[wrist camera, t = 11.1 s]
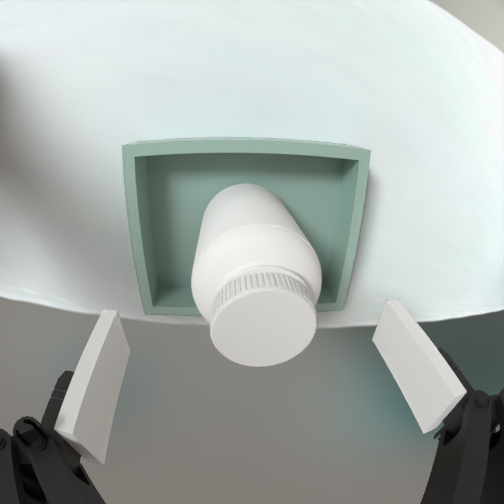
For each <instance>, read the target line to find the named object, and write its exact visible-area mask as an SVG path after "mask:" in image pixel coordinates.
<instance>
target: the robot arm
mask: <svg viewBox="0 0 504 504" xmlns="http://www.w3.org/2000/svg"><path fill="white" fill-rule="evenodd" d="M372 340H373V342H374V343H375V345H376V347H377V349H378V350H379V352H380V354H381V356H382V357H383V359H384V361H385V362H386V364H387V366H388V368H389V370H390V371H391V373H392V375H393V377H394V379H395V380H396V382H397V384H398V386H399V388H400V389H401V391H402V393H403V395H404V397H405V399H406V401H407V402H408V404H409V406H410V408H411V410H412V412H413V414H414V416H415V418H416V420H417V422H418V424H419V426H420V428H421V429H422V432H423V433H426V432H428V431H431V430H433V429H435V428H436V427H437V426H438V425H439V424H440V423H441V422H442V421H443V423H444V426H443V427H442V428H441V429H440V430H439V431H438V432H437V433H436V434H435V436H434V439H435V438H437V437H438V436H439V434H441V435H440V437H439V438H438V440H439V444H438V448H437V452H436V456H435V460H434V464H433V467H432V471H431V474H430V477H429V481H428V484H427V487H426V490H425V493H424V495H423V498H422V501H421V504H504V388H503V389H502V390H501V392H500V393H499V394H498V395H491V396H488V395H487V394H486V393H485V392H483V391H480V390H476V391H475V390H474V389H473V388H472V387H471V385H470V384H469V382H468V381H467V379H466V378H465V377H464V375H463V374H462V372H461V371H460V369H458V367H457V365H456V364H455V363H454V362H453V360H452V358H451V357H450V356H449V354H448V353H446V352H445V351H444V350H443V349H441V348H438V349H437V348H436V347H435V346H434V344H433V343H432V342H431V340H430V339H429V338H428V336H427V335H426V334H425V332H424V331H423V330H422V329H421V327H420V326H419V325H418V323H417V322H416V321H415V320H414V318H413V317H412V316H411V315H410V313H409V312H408V311H407V310H406V308H405V307H404V306H403V305H402V303H401V302H400V301H399V300H398V299H392V300H386V302H385V305H384V308H383V311H382V314H381V317H380V320H379V322H378V325H377V328H376V331H375V334H374V336H373V339H372ZM130 352H131V351H130V348H129V345H128V343H127V339H126V336H125V333H124V330H123V327H122V324H121V320H120V317H119V314H118V310H103V311H102V313H101V315H100V317H99V319H98V322H97V323H96V325H95V328H94V330H93V332H92V334H91V336H90V338H89V340H88V343H87V345H86V347H85V349H84V352H83V354H82V356H81V358H80V361H79V363H78V365H77V368H76V370H75V372H71V371H65V372H64V373H63V374H62V375H61V376H60V377H59V379H58V381H57V383H56V385H55V388H54V391H53V392H52V395H51V398H50V400H49V402H48V405H47V408H46V410H45V413H44V416H43V418H42V421H41V424H40V423H39V422H38V421H37V420H36V419H34V418H33V417H29V416H26V417H22V418H21V419H19V420H18V421H17V422H16V423H15V425H14V428H13V436H10V435H9V434H8V433H7V432H6V431H4V430H3V429H0V504H106V503H105V502H104V500H103V499H102V497H101V496H100V494H99V493H98V491H97V489H96V488H95V486H94V485H93V483H92V481H91V480H90V478H89V477H88V475H87V473H86V471H85V469H84V468H83V466H82V464H81V463H80V458H81V456H82V457H83V458H84V459H85V460H86V461H88V462H92V463H96V464H101V465H104V461H105V455H106V450H107V445H108V440H109V435H110V430H111V425H112V421H113V417H114V412H115V408H116V404H117V400H118V396H119V392H120V388H121V384H122V380H123V377H124V373H125V369H126V366H127V362H128V359H129V355H130ZM499 424H500V430H499V431H498V432H496V429H495V428H496V427H497V426H498V425H499Z"/></svg>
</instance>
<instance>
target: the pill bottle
mask: <svg viewBox="0 0 504 504" xmlns="http://www.w3.org/2000/svg"><path fill="white" fill-rule="evenodd" d="M321 285H322V272H321V266H320V262H319V259H318V257H317V255H316V253H315V251H314V249H313V247H312V246H311V244H310V243H309V241H308V240H307V238H306V237H305V235H304V234H303V232H302V231H301V229H300V228H299V226H298V225H297V223H296V222H295V220H294V219H293V217H292V216H291V214H290V213H289V211H288V210H287V208H286V207H285V205H284V204H283V202H282V201H281V200H280V199H279V198H278V196H276V195H275V194H274V193H273V192H271V191H270V190H268V189H267V188H265V187H262V186H260V185H256V184H249V183H243V184H236V185H233V186H230V187H227V188H225V189H224V190H222V191H221V192H219V193H218V194H217V195H216V196H215V197H214V198H213V199H212V200H211V201H210V203H209V204H208V206H207V208H206V210H205V212H204V215H203V219H202V224H201V229H200V234H199V239H198V244H197V249H196V254H195V259H194V264H193V270H192V276H191V289H192V295H193V298H194V301H195V303H196V306H197V308H198V310H199V312H200V313H201V315H202V316H203V317H204V319H205V320H206V321H207V322H208V323H209V324H210V328H209V329H210V337H211V339H212V342H213V344H214V346H215V347H216V349H218V351H219V352H220V353H221V354H222V355H224V356H225V357H226V358H228V359H230V360H231V361H233V362H236V363H238V364H242V365H246V366H254V367H264V366H272V365H276V364H280V363H283V362H285V361H288V360H290V359H292V358H293V357H295V356H297V355H298V354H299V353H301V352H302V351H303V350H304V349H305V348H306V347H307V346H308V344H309V343H310V342H311V340H312V339H313V337H314V334H315V332H316V328H317V323H318V321H317V320H318V318H317V313H316V310H315V305H316V303H317V301H318V298H319V295H320V291H321Z"/></svg>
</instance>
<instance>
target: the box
mask: <svg viewBox="0 0 504 504" xmlns="http://www.w3.org/2000/svg"><path fill="white" fill-rule="evenodd" d="M122 153H123V170H124V183H125V194H126V204H127V213H128V221H129V229H130V236H131V243H132V250H133V256H134V262H135V268H136V273H137V279H138V284H139V289H140V294H141V299H142V303H143V308H144V312H145V315H186V316H202V315H201V313H200V312H199V310H198V308H197V306H196V303H195V301H194V298H193V295H192V289H191V276H192V270H193V264H194V259H195V254H196V249H197V244H198V239H199V234H200V229H201V224H202V219H203V215H204V212H205V210H206V208H207V206H208V204H209V203H210V201H211V200H212V199H213V198H214V197H215V196H216V195H217V194H218V193H219V192H221V191H222V190H224V189H225V188H227V187H230V186H233V185H236V184H243V183H249V184H256V185H260V186H262V187H265V188H267V189H268V190H270V191H271V192H273V193H274V194H275V195H276V196H278V198H279V199H280V200H281V201H282V202H283V204H284V205H285V207H286V208H287V210H288V211H289V213H290V214H291V216H292V217H293V219H294V220H295V222H296V223H297V225H298V226H299V228H300V229H301V231H302V232H303V234H304V235H305V237H306V238H307V240H308V241H309V243H310V244H311V246H312V247H313V249H314V251H315V253H316V255H317V257H318V259H319V262H320V266H321V272H322V285H321V291H320V295H319V298H318V301H317V303H316V305H315V310H316V312H322V311H336V310H343V307H344V303H345V299H346V295H347V291H348V287H349V282H350V278H351V273H352V269H353V264H354V259H355V254H356V249H357V244H358V238H359V233H360V227H361V221H362V215H363V209H364V202H365V195H366V188H367V180H368V171H369V162H370V153H371V150H368V149H364V148H360V147H356V146H351V145H345V144H337V143H328V142H318V141H306V140H293V139H276V138H246V137H210V138H181V139H164V140H151V141H140V142H135V143H131V144H127V145H123V146H122Z"/></svg>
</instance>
